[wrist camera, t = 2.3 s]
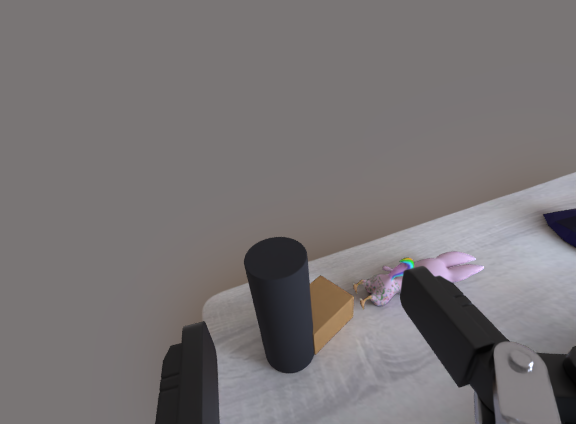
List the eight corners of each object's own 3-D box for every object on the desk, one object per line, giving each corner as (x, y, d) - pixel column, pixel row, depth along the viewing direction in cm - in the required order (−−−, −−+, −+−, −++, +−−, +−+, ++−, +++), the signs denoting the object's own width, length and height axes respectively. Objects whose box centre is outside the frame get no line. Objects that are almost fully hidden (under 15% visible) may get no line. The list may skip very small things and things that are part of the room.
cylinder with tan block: (289, 384, 29) (272, 291, 22) (255, 349, 32) (231, 258, 25) (354, 317, 34) (358, 225, 27) (320, 293, 38) (315, 205, 30)
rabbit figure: (368, 329, 34) (496, 291, 34) (362, 296, 31) (504, 253, 31) (351, 288, 39) (461, 255, 39) (344, 256, 36) (464, 219, 36)
